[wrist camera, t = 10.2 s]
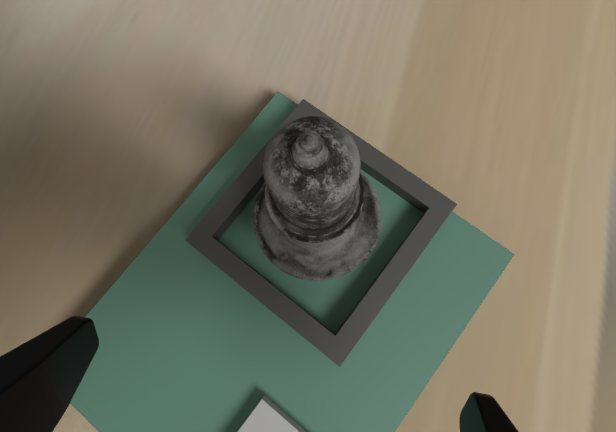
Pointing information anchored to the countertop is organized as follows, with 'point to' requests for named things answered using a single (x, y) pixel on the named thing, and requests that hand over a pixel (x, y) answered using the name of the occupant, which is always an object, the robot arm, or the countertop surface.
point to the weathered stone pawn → (315, 202)
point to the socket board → (283, 310)
